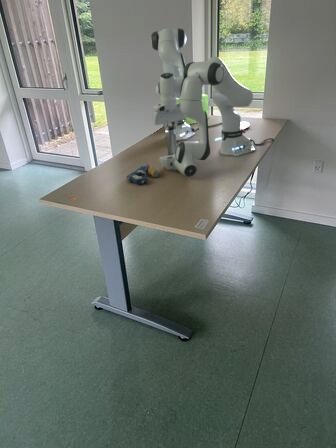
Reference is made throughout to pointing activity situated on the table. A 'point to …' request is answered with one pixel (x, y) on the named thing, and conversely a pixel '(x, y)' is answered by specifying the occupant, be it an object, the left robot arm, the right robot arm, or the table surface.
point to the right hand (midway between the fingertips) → (172, 154)
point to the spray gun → (142, 174)
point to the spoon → (244, 125)
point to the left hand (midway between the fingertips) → (170, 129)
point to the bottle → (171, 142)
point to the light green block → (204, 105)
